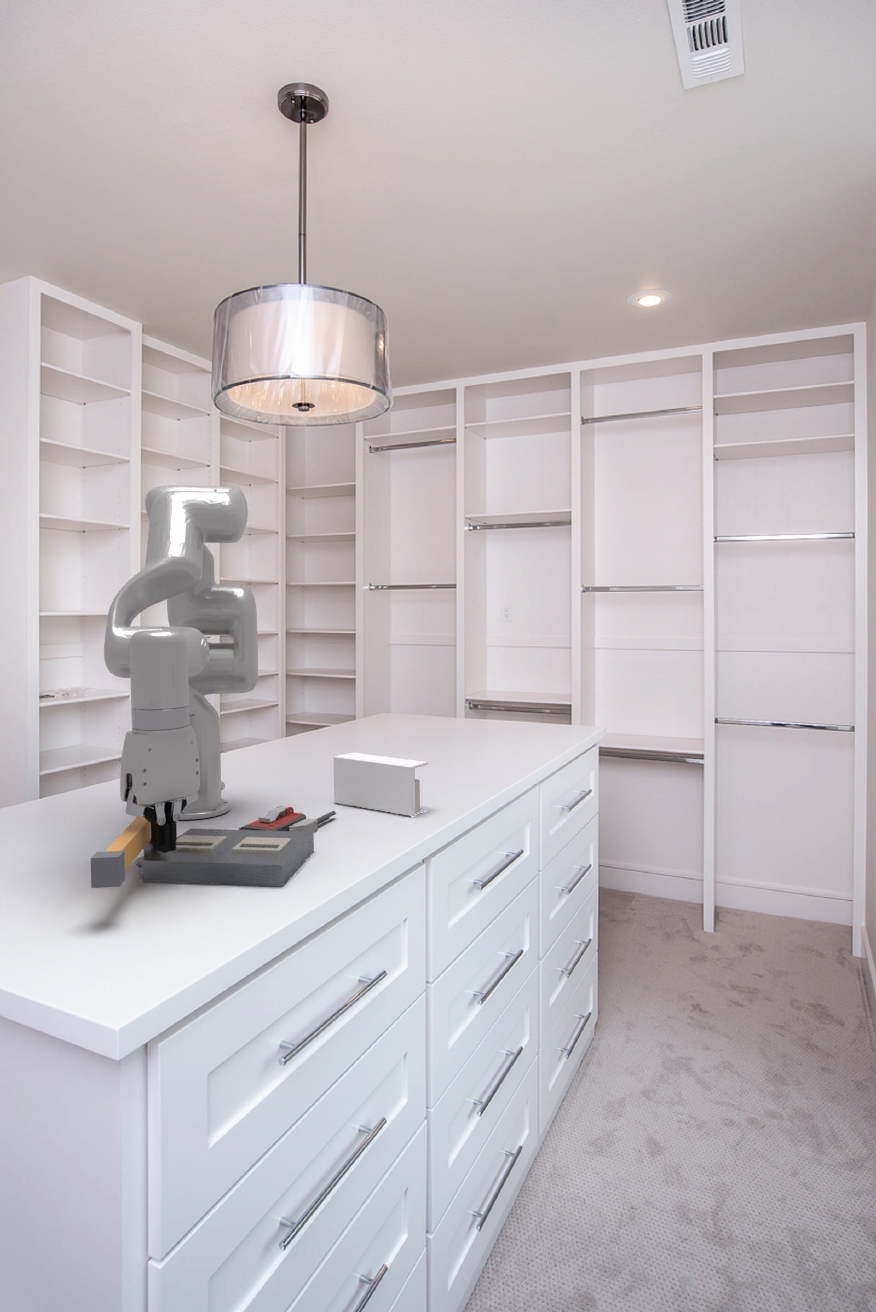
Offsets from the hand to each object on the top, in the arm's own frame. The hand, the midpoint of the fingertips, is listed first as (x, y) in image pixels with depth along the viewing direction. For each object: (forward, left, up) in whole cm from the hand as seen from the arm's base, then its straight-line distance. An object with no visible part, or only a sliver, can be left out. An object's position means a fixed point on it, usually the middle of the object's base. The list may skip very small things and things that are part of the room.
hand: (164, 849), depth 108 cm
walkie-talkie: (-25, +10, -5) cm, 27 cm away
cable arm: (+4, -3, +1) cm, 5 cm away
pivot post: (-7, -5, -4) cm, 9 cm away
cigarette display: (-43, +22, -5) cm, 48 cm away
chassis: (-7, +7, -4) cm, 11 cm away
